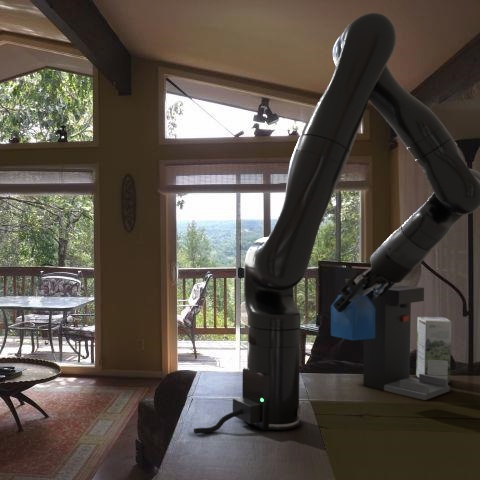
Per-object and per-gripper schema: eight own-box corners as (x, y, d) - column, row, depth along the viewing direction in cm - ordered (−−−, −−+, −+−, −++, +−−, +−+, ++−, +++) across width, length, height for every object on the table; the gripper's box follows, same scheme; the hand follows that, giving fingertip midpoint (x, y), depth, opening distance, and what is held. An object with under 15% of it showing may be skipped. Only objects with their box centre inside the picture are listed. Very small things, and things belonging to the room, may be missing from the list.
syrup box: (440, 377, 137) (441, 316, 136) (450, 383, 131) (451, 320, 130) (415, 376, 137) (416, 315, 137) (424, 382, 131) (425, 319, 131)
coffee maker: (425, 400, 117) (426, 293, 117) (363, 385, 128) (364, 287, 128) (449, 391, 124) (451, 290, 124) (389, 378, 135) (390, 284, 135)
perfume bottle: (330, 335, 122) (331, 278, 121) (352, 333, 124) (353, 278, 124) (352, 340, 116) (352, 281, 116) (375, 338, 119) (375, 280, 118)
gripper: (405, 239, 119) (354, 291, 128) (368, 240, 110) (316, 296, 119) (431, 266, 115) (376, 318, 124) (394, 269, 105) (338, 325, 115)
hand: (347, 307), depth 121 cm, fingers closed on perfume bottle, 7 cm apart
